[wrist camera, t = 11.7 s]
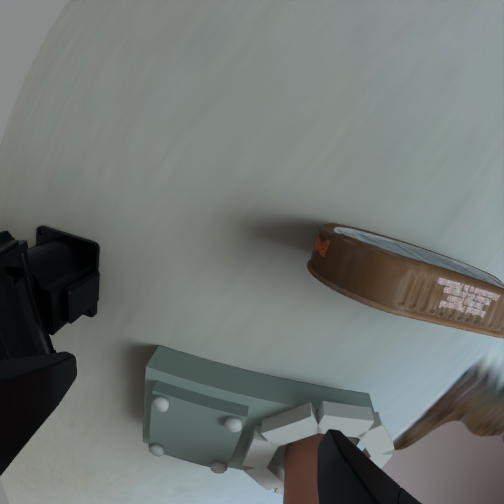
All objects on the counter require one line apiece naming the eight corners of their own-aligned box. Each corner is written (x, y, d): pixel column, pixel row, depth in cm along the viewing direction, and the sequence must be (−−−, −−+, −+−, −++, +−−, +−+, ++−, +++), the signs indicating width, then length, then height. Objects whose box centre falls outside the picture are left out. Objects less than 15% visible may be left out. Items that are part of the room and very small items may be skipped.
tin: (301, 251, 21) (311, 309, 13) (314, 205, 20) (335, 237, 12) (473, 299, 21) (530, 353, 13) (488, 263, 20) (553, 308, 12)
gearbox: (152, 426, 28) (136, 460, 23) (160, 335, 24) (137, 370, 19) (347, 466, 27) (352, 501, 23) (402, 388, 24) (418, 426, 19)
